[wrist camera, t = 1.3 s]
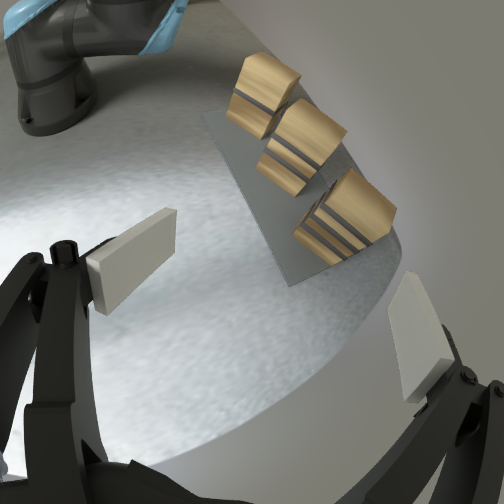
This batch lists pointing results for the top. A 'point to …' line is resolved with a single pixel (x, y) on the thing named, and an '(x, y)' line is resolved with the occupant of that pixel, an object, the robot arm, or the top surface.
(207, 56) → the top surface
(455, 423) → the robot arm
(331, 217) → the striped wooden block
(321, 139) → the wooden block
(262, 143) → the mat
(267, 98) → the banded wooden block
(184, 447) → the top surface
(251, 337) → the top surface
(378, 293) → the top surface
